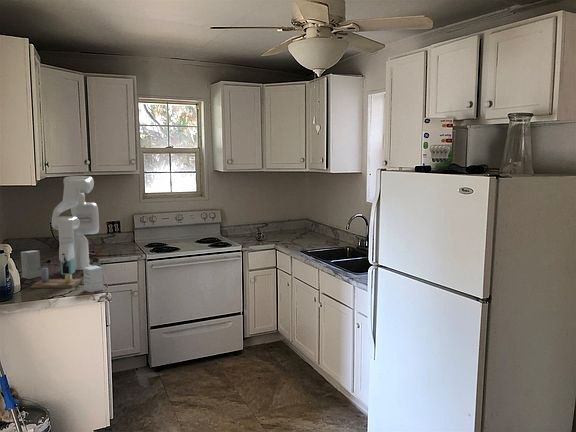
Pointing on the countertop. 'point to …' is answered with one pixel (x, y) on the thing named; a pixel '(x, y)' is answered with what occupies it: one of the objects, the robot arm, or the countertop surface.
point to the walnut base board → (56, 283)
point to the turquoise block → (71, 266)
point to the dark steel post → (44, 275)
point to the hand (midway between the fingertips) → (68, 271)
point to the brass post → (68, 278)
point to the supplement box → (93, 278)
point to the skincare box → (30, 264)
